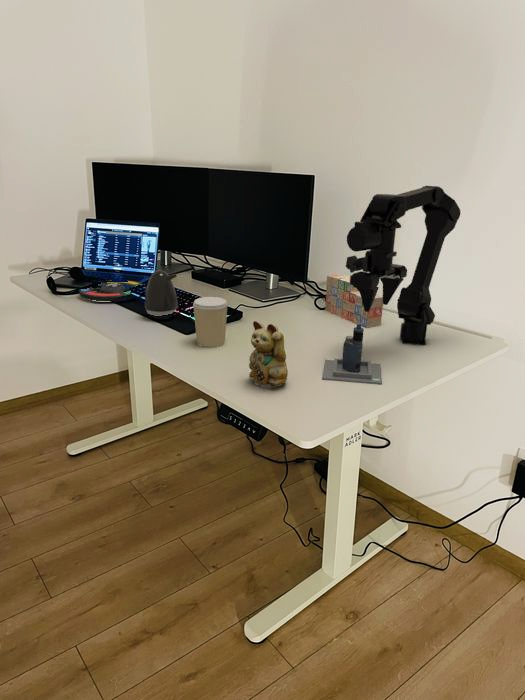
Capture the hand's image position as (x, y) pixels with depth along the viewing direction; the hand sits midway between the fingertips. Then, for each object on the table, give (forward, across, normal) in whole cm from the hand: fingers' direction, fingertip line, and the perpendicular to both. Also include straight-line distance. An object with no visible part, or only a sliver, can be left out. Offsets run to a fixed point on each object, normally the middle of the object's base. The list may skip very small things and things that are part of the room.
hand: (376, 308), depth 140 cm
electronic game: (+14, +14, -98) cm, 100 cm away
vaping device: (+13, +14, +2) cm, 19 cm away
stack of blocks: (+13, -25, -22) cm, 36 cm away
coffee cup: (+13, +23, -37) cm, 46 cm away
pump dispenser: (+13, +18, -65) cm, 69 cm away
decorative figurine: (+13, +32, -8) cm, 36 cm away
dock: (+13, +14, +3) cm, 19 cm away
